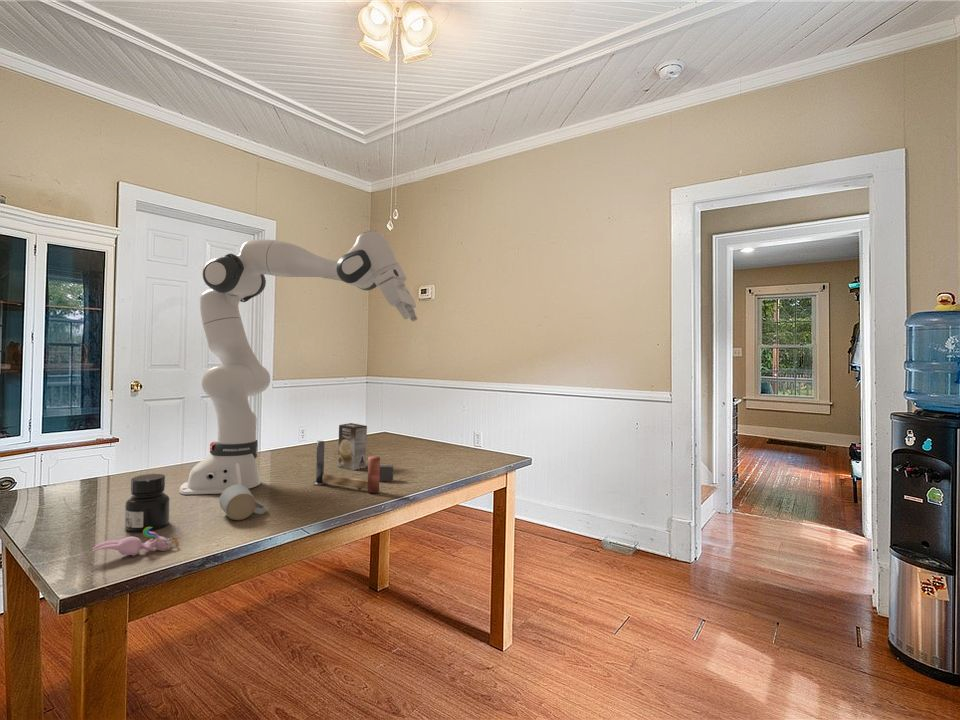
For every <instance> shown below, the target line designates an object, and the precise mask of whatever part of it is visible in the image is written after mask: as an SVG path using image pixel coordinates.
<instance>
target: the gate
mask: <svg viewBox="0 0 960 720" xmlns="http://www.w3.org/2000/svg"><path fill="white" fill-rule="evenodd" d="M367 460H368V461H367V479H366V480H365V479H361V478H359V479H358V478H352V477H346V476H340V475H333V474H327V473H324V475H323V479H322V482H324V483H326V484H332V485H338V486H343V487H350V488H355V489H357V490H358V491H361V490H367V493H370V494H371V493H373V494H375V493H378V492H380V482H379V479H380V465H381V457H380V456H368V458H367Z"/></svg>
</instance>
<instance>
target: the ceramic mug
mask: <svg viewBox="0 0 960 720" xmlns="http://www.w3.org/2000/svg"><path fill="white" fill-rule="evenodd" d="M219 507H220V508H221V510H222V511H223V512H224V513H225V515H226V516H227V517H228V518H229V519H231V520H234V521H244V520H245V519H247V518H249V517H250V516H252V515H253V514H258V515H265V513H266V511H267V506H265V505H264V504H262V503H260V502H257V501H256V499H255V497H254V495H253V493H252V492H251V491H250V488H249V489H248V488H247V487H245V486H243V485H232V486H230V487H228V488H226V489H225V490H224V491H223V493H220V496H219Z"/></svg>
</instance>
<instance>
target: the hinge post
mask: <svg viewBox="0 0 960 720" xmlns="http://www.w3.org/2000/svg"><path fill="white" fill-rule="evenodd" d="M315 457H316V458H315V460H316V465H315V471H316V472H315V481H313V482H312V483H313V486H316V485H321V486H325V485H326V484H327V483H324V482H322V479H323V475H324V474H325V440H318V441H317V440H316V456H315Z"/></svg>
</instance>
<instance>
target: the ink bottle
mask: <svg viewBox="0 0 960 720" xmlns="http://www.w3.org/2000/svg"><path fill="white" fill-rule="evenodd" d="M165 488H166V475H165V474H162V473H150V474H149V473H147V474H141V475H137V476H134V477H132V478H131V479H130V494H131V496H130V498H128V499H127V500H126V502H125V509H124V511H125V513H124V516H125V517H124V519H125V520H124V527H125V530H126V531H128V532H134V533H138V532H139V533H140V532H142V533H143V530H144V529H145V528H147V527H153V528H151V529H150V530H149V531H153V530H157V529H161V528H163V527H165V526H166V525H169V522H170V496H169V495H168V494H166V493H165Z"/></svg>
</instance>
